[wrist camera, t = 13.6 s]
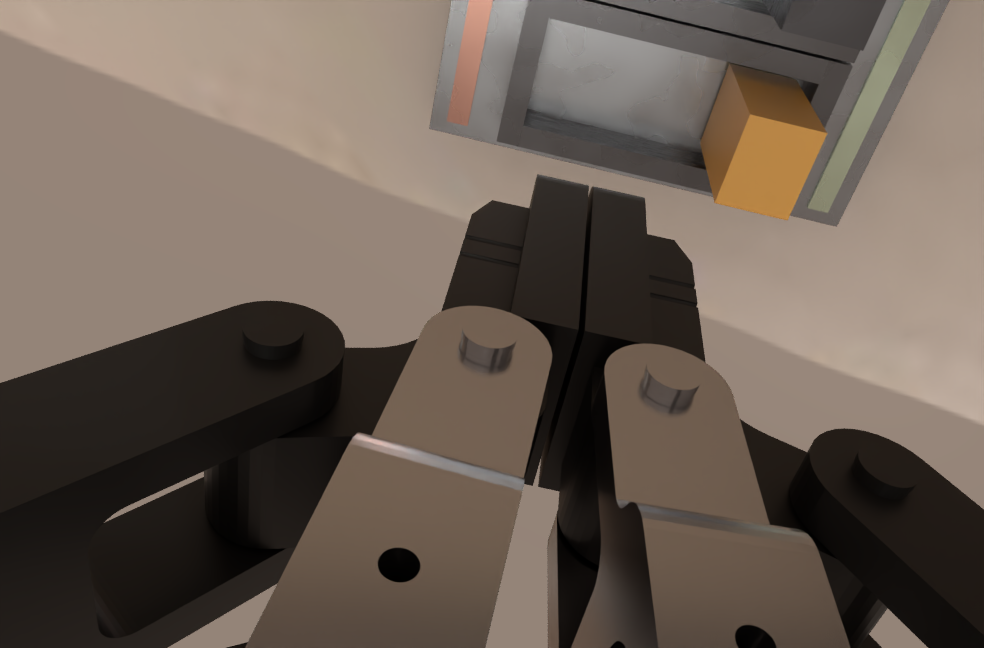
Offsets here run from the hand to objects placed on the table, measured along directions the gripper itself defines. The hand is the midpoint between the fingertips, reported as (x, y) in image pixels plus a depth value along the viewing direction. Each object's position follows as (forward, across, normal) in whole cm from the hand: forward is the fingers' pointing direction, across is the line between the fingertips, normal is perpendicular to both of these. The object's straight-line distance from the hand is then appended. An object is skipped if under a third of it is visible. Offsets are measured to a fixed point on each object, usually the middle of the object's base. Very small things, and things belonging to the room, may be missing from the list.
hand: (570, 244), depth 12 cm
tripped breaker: (+20, -6, +4) cm, 21 cm away
